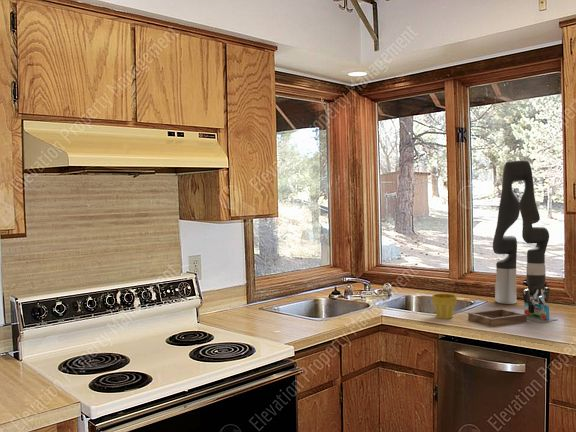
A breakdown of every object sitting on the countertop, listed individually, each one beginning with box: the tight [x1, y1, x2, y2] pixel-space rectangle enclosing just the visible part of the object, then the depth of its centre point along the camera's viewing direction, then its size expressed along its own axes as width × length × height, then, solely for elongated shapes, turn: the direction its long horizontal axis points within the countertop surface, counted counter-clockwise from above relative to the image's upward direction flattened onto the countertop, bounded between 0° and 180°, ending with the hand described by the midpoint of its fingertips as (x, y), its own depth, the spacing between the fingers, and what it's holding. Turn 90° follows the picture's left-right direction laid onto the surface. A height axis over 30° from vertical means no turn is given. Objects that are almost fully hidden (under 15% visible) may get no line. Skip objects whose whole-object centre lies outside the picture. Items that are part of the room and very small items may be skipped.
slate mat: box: [527, 316, 559, 323], centre depth 240 cm, size 14×10×1 cm
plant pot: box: [431, 292, 458, 320], centre depth 245 cm, size 10×10×10 cm
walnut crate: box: [467, 308, 528, 327], centre depth 237 cm, size 14×19×3 cm
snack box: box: [523, 302, 550, 320], centre depth 240 cm, size 12×2×6 cm, turn 23°
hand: (536, 312), depth 240 cm, fingers open, 5 cm apart
